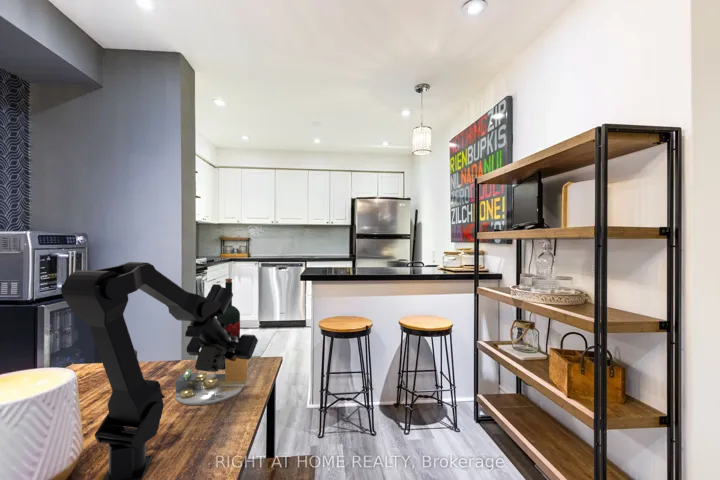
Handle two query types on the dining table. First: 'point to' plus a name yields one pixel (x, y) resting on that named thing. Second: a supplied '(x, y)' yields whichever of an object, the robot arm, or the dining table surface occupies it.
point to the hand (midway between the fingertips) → (234, 359)
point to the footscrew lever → (231, 374)
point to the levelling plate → (203, 389)
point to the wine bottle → (230, 316)
